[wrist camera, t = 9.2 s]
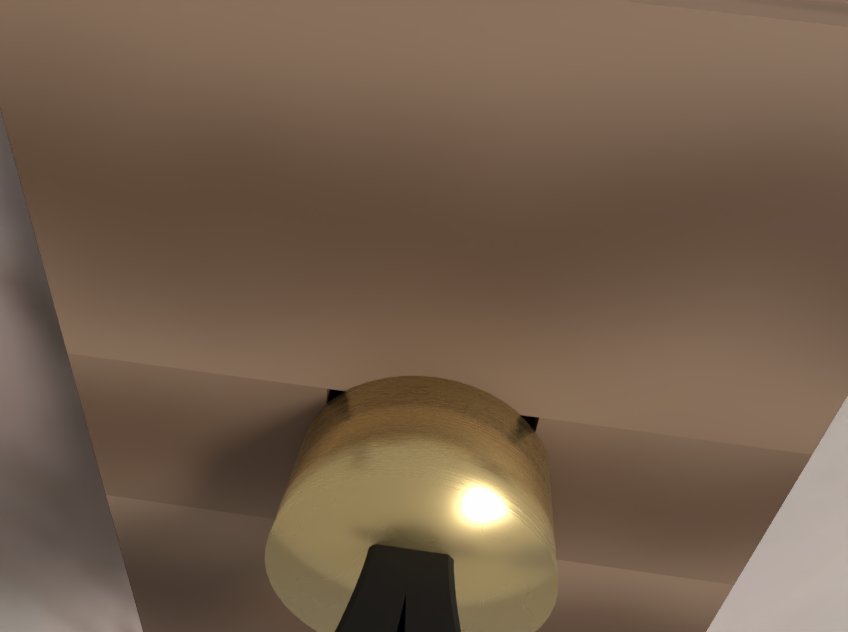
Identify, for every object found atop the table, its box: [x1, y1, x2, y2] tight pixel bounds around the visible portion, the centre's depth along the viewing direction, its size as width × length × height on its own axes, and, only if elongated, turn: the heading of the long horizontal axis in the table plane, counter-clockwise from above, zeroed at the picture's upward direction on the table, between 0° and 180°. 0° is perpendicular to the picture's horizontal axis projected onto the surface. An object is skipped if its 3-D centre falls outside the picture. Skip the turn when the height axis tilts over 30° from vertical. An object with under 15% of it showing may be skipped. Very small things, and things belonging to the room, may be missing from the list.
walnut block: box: [0, 0, 848, 632], centre depth 15 cm, size 18×14×4 cm
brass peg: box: [265, 376, 558, 632], centre depth 14 cm, size 5×5×6 cm
